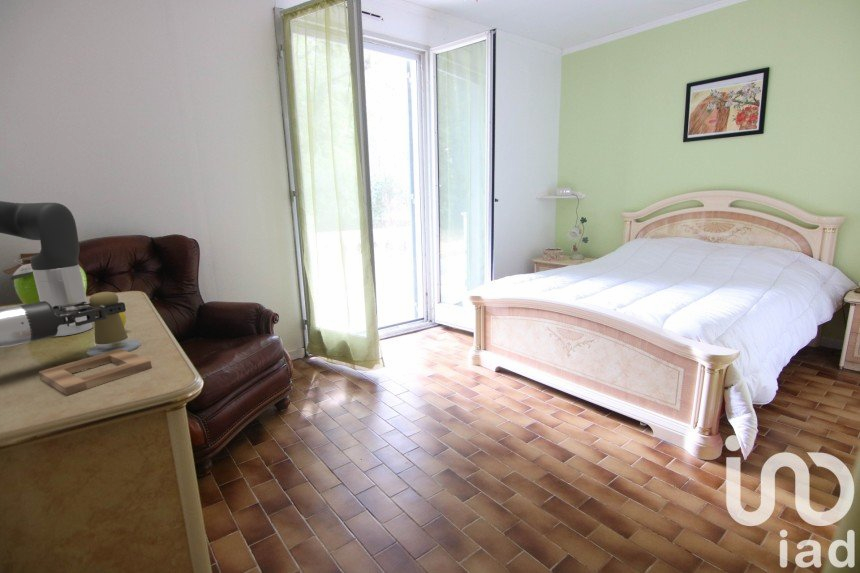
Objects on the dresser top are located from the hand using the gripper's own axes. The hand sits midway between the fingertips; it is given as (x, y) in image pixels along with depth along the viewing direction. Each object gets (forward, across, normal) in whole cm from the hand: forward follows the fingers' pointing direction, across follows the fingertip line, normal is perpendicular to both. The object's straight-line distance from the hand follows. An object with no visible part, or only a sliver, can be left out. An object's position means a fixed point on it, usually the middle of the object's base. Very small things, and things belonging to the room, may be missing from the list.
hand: (118, 305), depth 100 cm
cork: (-3, 0, +8) cm, 8 cm away
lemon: (+3, +13, +10) cm, 17 cm away
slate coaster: (-2, 0, +10) cm, 10 cm away
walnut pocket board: (-10, -13, +10) cm, 19 cm away
